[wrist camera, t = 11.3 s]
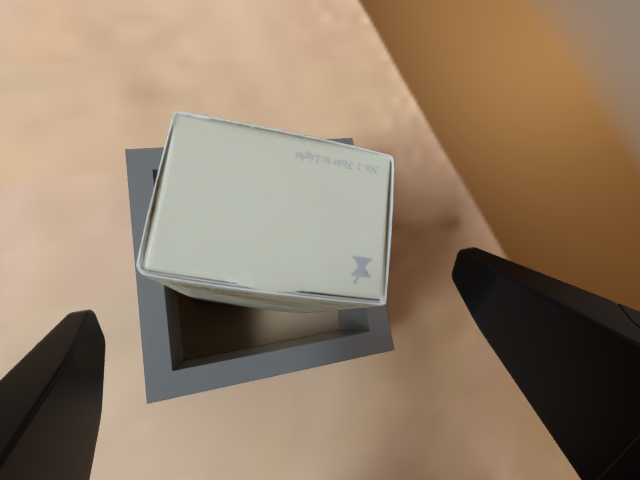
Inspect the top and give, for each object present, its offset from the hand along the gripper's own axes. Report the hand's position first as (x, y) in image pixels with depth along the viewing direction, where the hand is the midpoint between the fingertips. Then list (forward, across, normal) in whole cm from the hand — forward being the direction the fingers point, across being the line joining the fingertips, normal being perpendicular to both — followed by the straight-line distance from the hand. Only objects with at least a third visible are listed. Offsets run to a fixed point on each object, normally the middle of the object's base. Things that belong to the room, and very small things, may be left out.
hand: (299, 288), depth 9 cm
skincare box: (+10, 0, +7) cm, 12 cm away
